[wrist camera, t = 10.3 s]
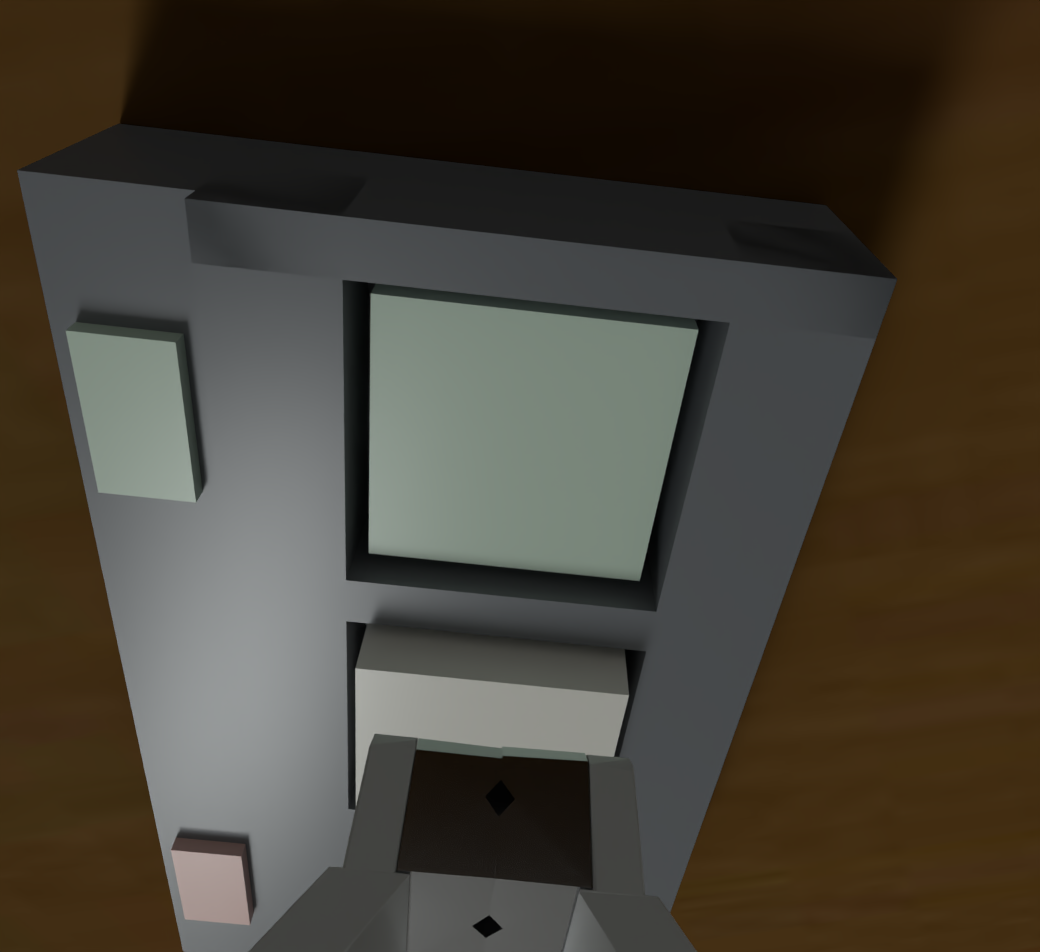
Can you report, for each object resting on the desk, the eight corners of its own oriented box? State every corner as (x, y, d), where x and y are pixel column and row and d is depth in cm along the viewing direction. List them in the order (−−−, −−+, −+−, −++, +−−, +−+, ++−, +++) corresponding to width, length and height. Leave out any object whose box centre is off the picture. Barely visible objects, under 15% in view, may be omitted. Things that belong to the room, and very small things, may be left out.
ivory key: (371, 606, 20) (355, 668, 19) (622, 631, 20) (629, 695, 19) (369, 770, 23) (356, 834, 22) (586, 790, 24) (589, 856, 22)
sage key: (388, 257, 17) (370, 293, 15) (685, 290, 17) (698, 329, 16) (383, 501, 20) (368, 553, 19) (632, 527, 21) (639, 580, 19)
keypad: (118, 123, 18) (1, 177, 14) (826, 205, 18) (897, 279, 14) (222, 841, 31) (177, 966, 28) (626, 878, 32) (635, 1007, 28)
